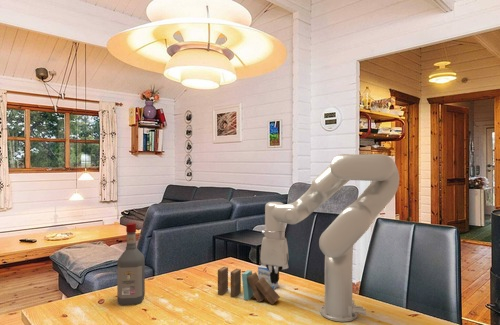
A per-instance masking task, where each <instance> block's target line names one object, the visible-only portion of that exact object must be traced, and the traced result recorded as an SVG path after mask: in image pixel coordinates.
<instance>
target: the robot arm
mask: <svg viewBox="0 0 500 325" xmlns="http://www.w3.org/2000/svg"><path fill="white" fill-rule="evenodd" d="M397 166H398V165H396V162H395V161H394V159H393V158H392V157H391V156H390V155H386V154H381V153H376V154H375V153H373V154H371V153H366V154H364V153H363V154H359V153H358V154H354V153H353V154H348V153H341V154H338V155H336V156H334V157H332V160H331V162H330V164H329V165H328V167H326V168H325V169H324V170H323V171H322V172H321V173H320V174H318V175H317V176H316V177H315V178H314V179H313V181H312V182H311V184H310V187H309V188H308V189H307V190H306V191H305V192H304V193H303V194H302V195H301V196H300V197H299V198H298V199H297V200H295V201H294V202H291V203H287V204H285V203H283V202H279V201H269V202H266V204H265V206H264V212H265V213H264V230H262V231H261V234H262V235H264V237H262V239H261V240H262V242H261V246H260V248H261V249H260V258H259V259H260V264H261V265H263V266H265V267H267V268H268V270H269V272H270V280H271V283H274V284H276V283H277V282H278V283H279V281H280V272H281V271H282V270H287V269H289V264H288V263H289V247H288V241H287V238H286V237H285V234H286V233H285V232H286V229H285V228H286V227H285V226H286V224H288V225H296V224H298V223H300V222H302V221H303V220H305V219H306V218H308V217H309V216H310V215H311V214H312V213H314V212H315V211H316V210H317V209H318V208H319V207H320V206H321V205H322V204H324V203H325V202H326V201H328V200H329V199H330V198H331V197H332V196H334V194H336V193H337V192H338V191H339V190H340V189H341V188H343V186H346V184H347V183H348V182H350V181H363V182H365V181H367V182H369V181H371V183H370V184H368V186H366V188H365V190H364V191H363V192H362V193H360V195H359V197H357V199H356V200H354V202H352V203H351V204H349V205H348V206H346V207H345V208H343V210H342V211H341V212H340V213H339V215H337V217H336V218H335V219H334V220H332V222H331V224H329V225H328V227H327V228H326V229H325V230H324V231H323V232H322V233H321V235H320V237H319V240H318V246H319V249H320V251H321V252H322V254H323V255H324V305H322V306H321V307H320V310H319V311H320V315H321V316H322V317H324V318H325V319H328V320H330V321H333V322H340V323H341V322H342V323H344V322H352V321H354V320H356V319H357V318H358V315H363V316H366V312H367V311H366V308H364V306H361V305H357V304H355V300H353V261H354V260H353V257H354V254H353V253H354V245H355V244H356V243H357V242H358V241H360V239H361V238H362V237H363V236H364V234H365V233H366V232H367V231H369V229H370V228H371V225H372V224H373V221H374V220H375V219H376V218H377V217H378V216H379V214H381V212H382V211H383V210H384V209H385V208H386V207H387V205H388V204H390V203H391V201H392V200H393V198H394V197H395V195H396V194H397V192H398V190H399V186H400V172H399V169H398V167H397ZM274 267H275V269H274Z"/></svg>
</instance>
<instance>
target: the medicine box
mask: <svg viewBox="0 0 500 325" xmlns="http://www.w3.org/2000/svg"><path fill="white" fill-rule="evenodd" d="M275 267H276V266H274V269H275ZM257 275H258V277H259V279H261V278H262V277H263V278H264V279H265V280H266V281H267V282H268V283H269V285H270V286H271V287H272V288H273V289H274V290H275V289H277V288H278V287H279V281H278V282H277V283H276V284H274V283H271V280H270V272H269V270H268V268H267V267H265V266H263V265H259V266H258V267H257Z"/></svg>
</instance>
